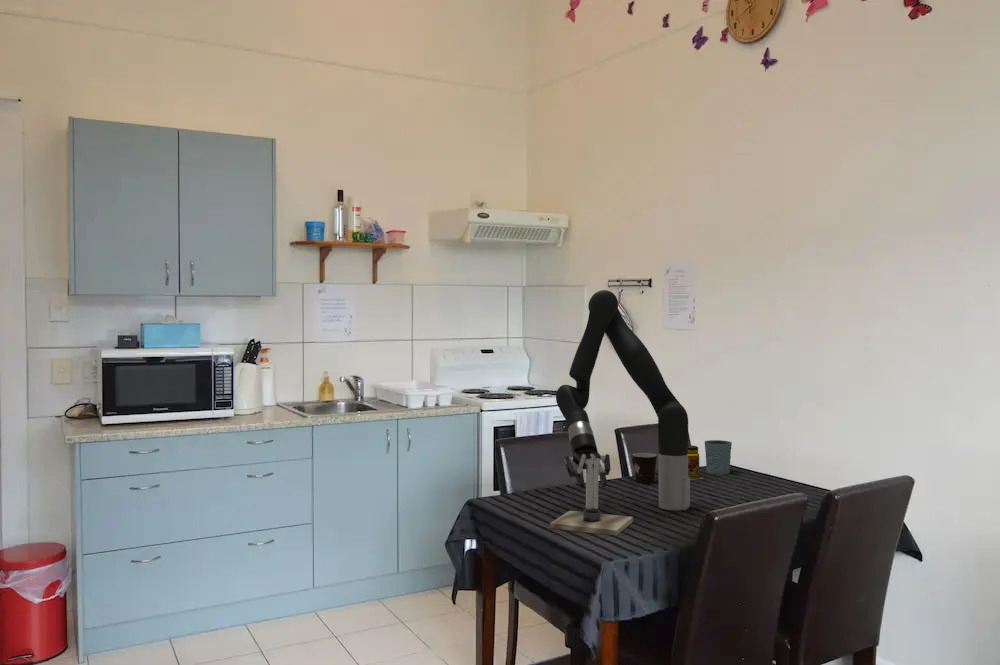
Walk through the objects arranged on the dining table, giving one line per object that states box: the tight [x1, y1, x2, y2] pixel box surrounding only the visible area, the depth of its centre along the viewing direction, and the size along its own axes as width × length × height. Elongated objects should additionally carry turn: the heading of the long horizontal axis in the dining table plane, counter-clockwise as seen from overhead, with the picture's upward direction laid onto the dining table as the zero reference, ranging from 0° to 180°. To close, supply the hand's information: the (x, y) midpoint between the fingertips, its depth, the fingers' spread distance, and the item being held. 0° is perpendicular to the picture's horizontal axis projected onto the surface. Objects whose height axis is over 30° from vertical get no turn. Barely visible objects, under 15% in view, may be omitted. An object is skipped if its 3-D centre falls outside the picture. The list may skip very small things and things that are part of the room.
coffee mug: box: [631, 452, 658, 485], centre depth 294 cm, size 12×9×10 cm
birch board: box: [549, 510, 634, 536], centre depth 235 cm, size 20×16×2 cm
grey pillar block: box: [582, 458, 601, 522], centre depth 234 cm, size 5×5×18 cm
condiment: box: [688, 444, 704, 481], centre depth 300 cm, size 7×8×12 cm
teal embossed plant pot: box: [704, 439, 732, 476], centre depth 308 cm, size 10×10×12 cm
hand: (593, 486), depth 233 cm, fingers open, 6 cm apart
